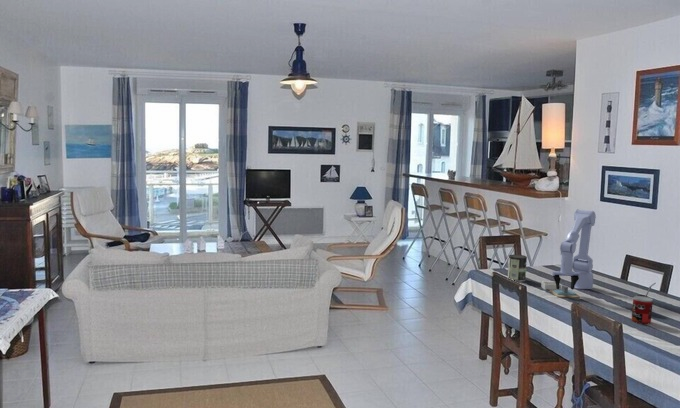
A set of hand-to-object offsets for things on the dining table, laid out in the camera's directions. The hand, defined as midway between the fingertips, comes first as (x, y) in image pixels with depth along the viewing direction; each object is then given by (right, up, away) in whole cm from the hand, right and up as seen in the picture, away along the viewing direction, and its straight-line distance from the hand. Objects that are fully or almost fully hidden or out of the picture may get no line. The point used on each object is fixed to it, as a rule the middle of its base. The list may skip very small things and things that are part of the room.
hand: (564, 288), depth 303 cm
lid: (0, -2, +1) cm, 2 cm away
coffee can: (-17, +1, +30) cm, 35 cm away
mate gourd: (+26, -7, -28) cm, 39 cm away
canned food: (+18, -9, -43) cm, 47 cm away
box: (-3, -2, +12) cm, 13 cm away
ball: (-5, 0, +12) cm, 13 cm away
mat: (0, -3, 0) cm, 3 cm away
